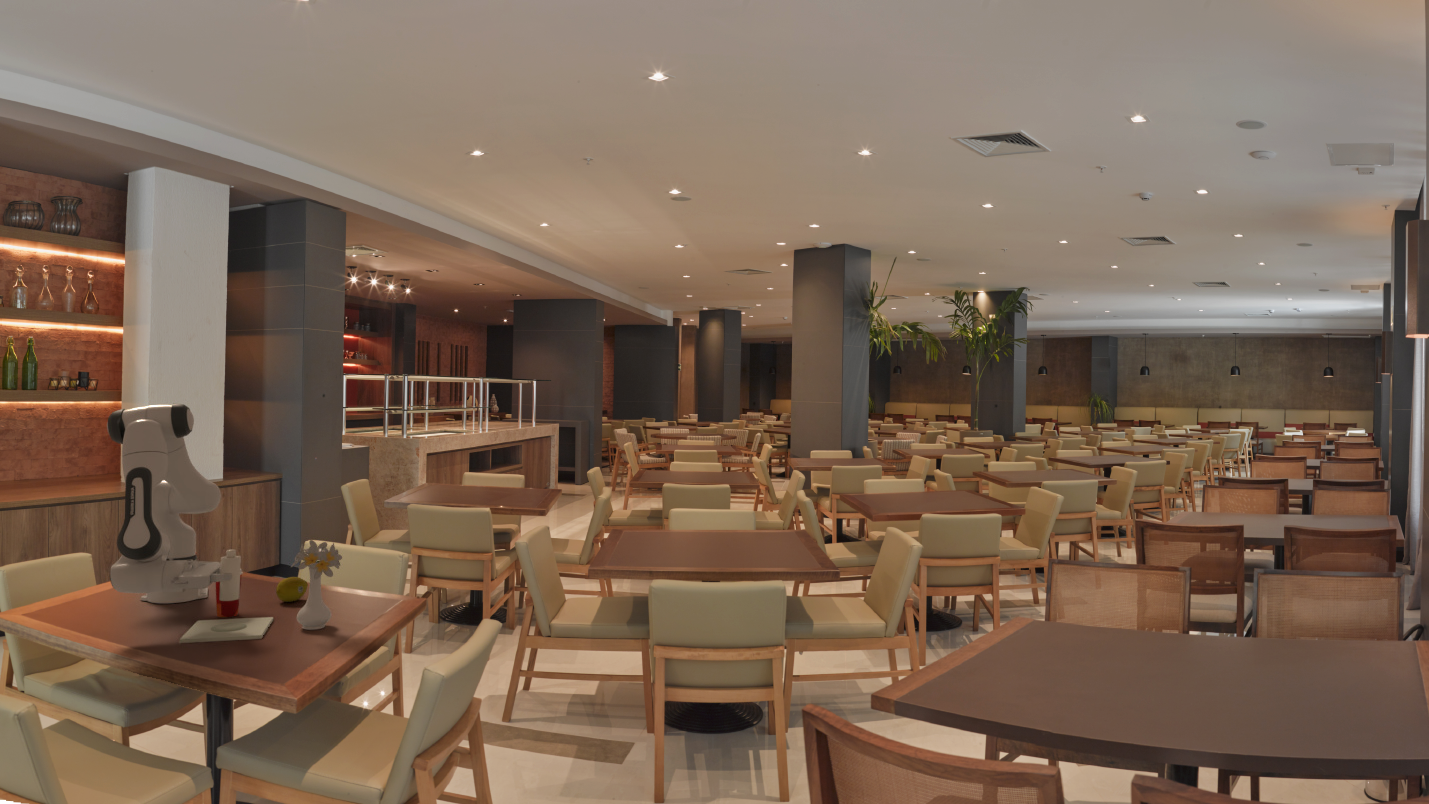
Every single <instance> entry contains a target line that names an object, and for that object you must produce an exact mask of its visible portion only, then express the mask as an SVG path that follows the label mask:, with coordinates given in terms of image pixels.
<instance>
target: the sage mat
mask: <svg viewBox="0 0 1429 804" xmlns="http://www.w3.org/2000/svg"><path fill="white" fill-rule="evenodd" d="M273 621H274V617H273V616H267V617H266V616H265V617H245V618H243V617H242V618H241V617H240V618H224V619H220V618H219V619H201V620H200V619H199V620H197V621H196V622H194V624H193V625H192V626H191V627H190V628H189V629H188V630H187V631H186V632H185V633H184V634H183V635H182V636H181V637H180V638H179V644H186V643H187V644H189V643H205V642H225V641H238V640H239V641H243V640H261V639H262V638H263V637H264V636H263V635H265V634H266V632H267V631H268V629H269V628H270V627H271V625H270V624H272V623H273ZM268 627H269V628H268Z"/></svg>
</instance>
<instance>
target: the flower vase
mask: <svg viewBox="0 0 1429 804" xmlns="http://www.w3.org/2000/svg"><path fill="white" fill-rule="evenodd" d="M309 545H310V546H309V548H304V544H303V543H301V546H300V548H299V552H298V553H297V554H296V556H295V558H294V562H293V563H292V564H291V566H290V568H293V566H295V565H297V564H298V563H299V562H301V561H302V562H301V563H300V564H299V565H298V570H303V569H305V568H307V567H308V571H309V586H308V587H309V588H308V597H307V599H306V602H305V604H304V605H303V606H302V607H301V608H300V609H299V611H298V612H297V615H296V621H297V622H298V623H299V624H300V625H302V629H303V630H306V631H307V630H309V631H317V630H321V629H324V628H325V627H326V624H327V623H328V622H329V621H330V620H331V618H332V611H331V609H330V608H329V607H328V606H327V605H326V604H325V602H324V600H323V597H322V588H321V587H322V583H321V582H322V575H323V574H324V575H325V576H326V577H329V578H332V577H333V576H334V573H333V572H334V571H333V570H332V569H331V568H332V567H334V568H336V569H337V570H340V567H341V562H340V561H341V560H343V555H341V554H339V550H338V549H336V547H335V543H334V542H332V544H331V546H330V548H329V549H328V548H327V547H328V542H326V541H324V542H323V541H322V542H321V543H319V545H318V544H317V543H316V542H315V541H314V540H313V539H311V540H309Z"/></svg>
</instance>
